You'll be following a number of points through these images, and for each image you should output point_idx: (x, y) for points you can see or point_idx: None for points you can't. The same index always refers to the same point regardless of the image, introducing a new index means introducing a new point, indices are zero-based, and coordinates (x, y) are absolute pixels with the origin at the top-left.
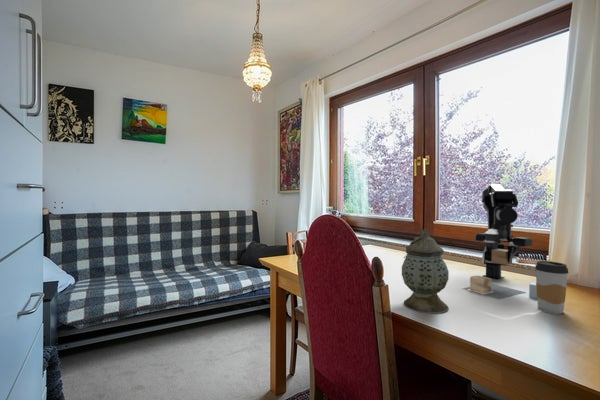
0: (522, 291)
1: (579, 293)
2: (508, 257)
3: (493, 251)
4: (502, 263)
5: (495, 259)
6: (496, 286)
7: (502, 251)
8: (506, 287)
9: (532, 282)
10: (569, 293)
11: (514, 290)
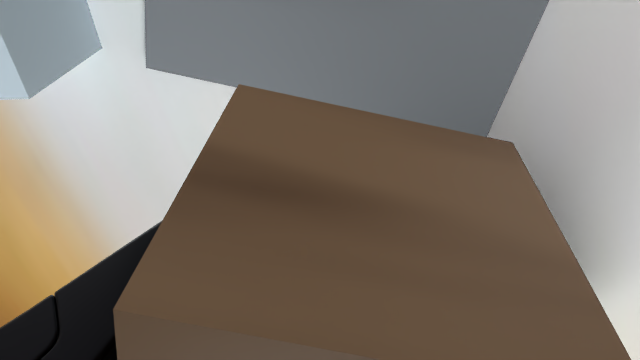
0: (178, 68)
1: (7, 314)
2: None
3: (565, 345)
4: (283, 99)
5: (444, 169)
6: (398, 62)
7: (224, 325)
8: (319, 98)
9: (4, 60)
10: (26, 281)
11: (232, 43)
